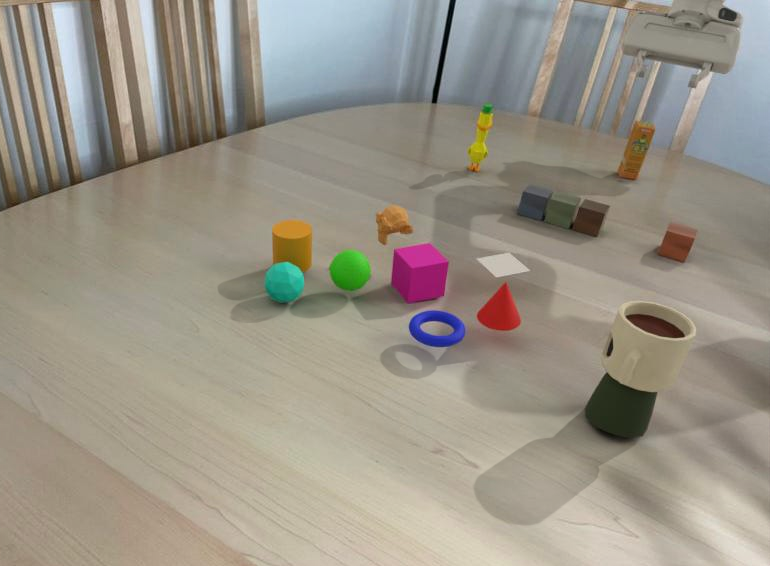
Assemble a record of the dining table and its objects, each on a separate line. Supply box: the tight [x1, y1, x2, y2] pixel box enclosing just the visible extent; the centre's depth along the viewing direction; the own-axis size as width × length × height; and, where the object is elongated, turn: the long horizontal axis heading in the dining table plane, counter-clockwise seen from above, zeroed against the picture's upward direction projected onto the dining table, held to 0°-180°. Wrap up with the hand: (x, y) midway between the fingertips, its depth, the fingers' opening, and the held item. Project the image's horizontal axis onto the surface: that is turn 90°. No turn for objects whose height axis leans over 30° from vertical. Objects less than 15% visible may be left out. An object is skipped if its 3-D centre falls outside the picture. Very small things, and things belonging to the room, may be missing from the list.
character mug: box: [584, 300, 697, 439], centre depth 74 cm, size 11×7×13 cm, turn 140°
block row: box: [516, 183, 698, 263], centre depth 117 cm, size 4×26×4 cm, turn 59°
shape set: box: [263, 205, 531, 348], centre depth 94 cm, size 29×35×7 cm
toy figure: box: [467, 103, 494, 172], centre depth 134 cm, size 7×4×12 cm, turn 161°
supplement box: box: [617, 120, 656, 180], centre depth 138 cm, size 3×3×10 cm
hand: (665, 80), depth 141 cm, fingers open, 8 cm apart
